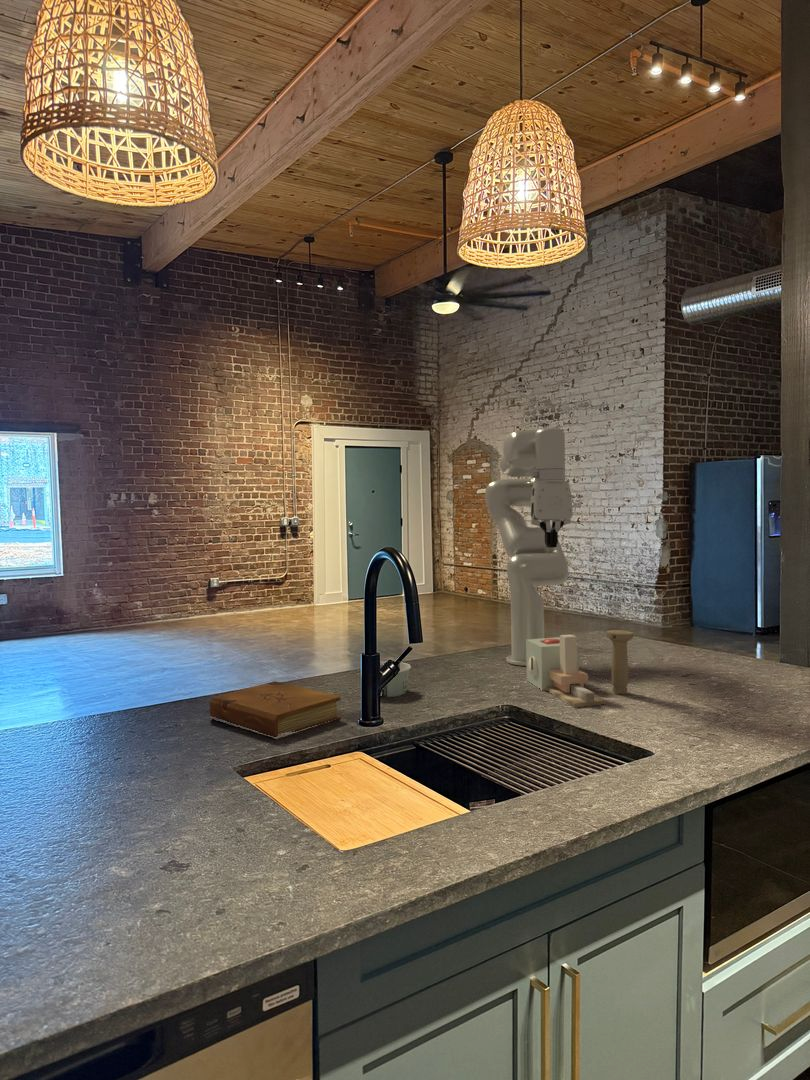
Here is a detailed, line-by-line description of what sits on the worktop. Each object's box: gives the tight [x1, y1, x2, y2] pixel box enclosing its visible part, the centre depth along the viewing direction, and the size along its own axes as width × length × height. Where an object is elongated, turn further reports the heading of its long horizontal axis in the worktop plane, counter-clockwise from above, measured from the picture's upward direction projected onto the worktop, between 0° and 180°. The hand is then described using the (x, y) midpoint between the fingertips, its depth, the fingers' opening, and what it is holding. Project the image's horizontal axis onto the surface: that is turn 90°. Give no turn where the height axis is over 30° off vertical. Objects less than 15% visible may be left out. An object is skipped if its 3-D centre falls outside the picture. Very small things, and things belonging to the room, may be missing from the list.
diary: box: [209, 680, 342, 737], centre depth 169 cm, size 23×19×6 cm
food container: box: [380, 661, 412, 698], centre depth 190 cm, size 12×12×6 cm
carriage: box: [549, 633, 589, 693], centre depth 183 cm, size 7×7×13 cm
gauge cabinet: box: [525, 636, 580, 691], centre depth 193 cm, size 10×11×11 cm
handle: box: [605, 629, 634, 695], centre depth 183 cm, size 5×6×15 cm
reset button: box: [544, 639, 560, 644], centre depth 193 cm, size 4×4×3 cm
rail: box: [546, 684, 607, 709], centre depth 180 cm, size 16×8×3 cm, turn 13°
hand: (551, 547), depth 195 cm, fingers closed
